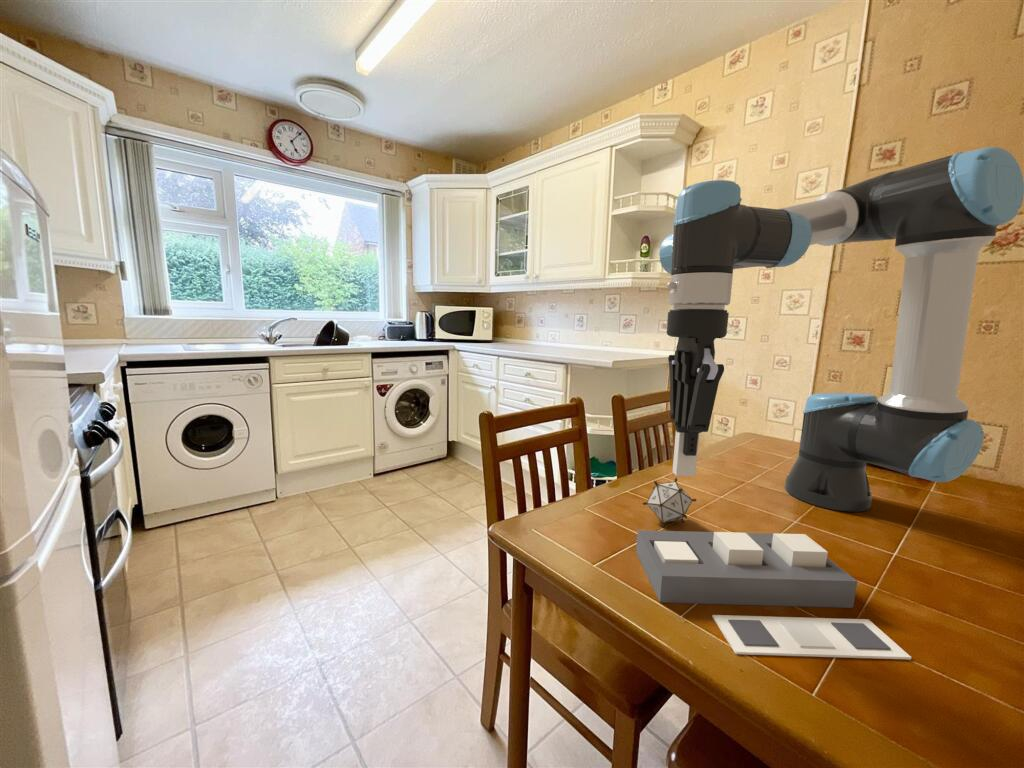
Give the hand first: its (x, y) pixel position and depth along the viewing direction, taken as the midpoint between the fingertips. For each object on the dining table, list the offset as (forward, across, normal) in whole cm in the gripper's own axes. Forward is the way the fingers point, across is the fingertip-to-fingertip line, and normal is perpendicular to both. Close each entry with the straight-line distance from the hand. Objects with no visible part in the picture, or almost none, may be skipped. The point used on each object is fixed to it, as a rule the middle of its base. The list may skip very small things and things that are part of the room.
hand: (683, 473), depth 60 cm
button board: (+16, 0, +9) cm, 18 cm away
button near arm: (+13, 0, +18) cm, 22 cm away
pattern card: (+16, +12, +12) cm, 23 cm away
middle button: (+13, 0, +9) cm, 16 cm away
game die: (+17, -17, +5) cm, 24 cm away
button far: (+15, 0, 0) cm, 15 cm away
